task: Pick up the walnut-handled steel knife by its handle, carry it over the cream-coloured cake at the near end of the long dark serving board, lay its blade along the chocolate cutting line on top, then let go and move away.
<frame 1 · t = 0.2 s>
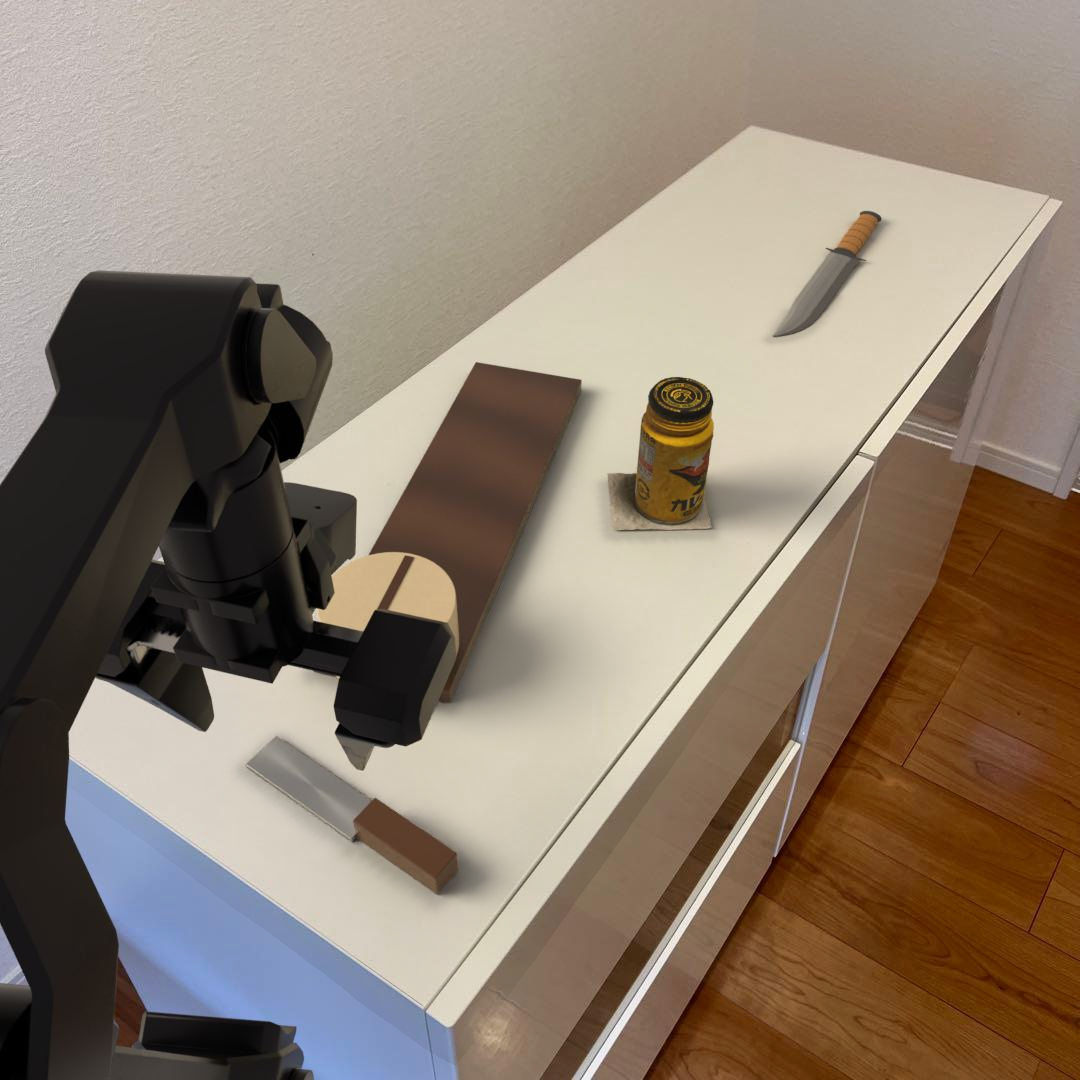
hand: (284, 743, 58), 16 cm above the sideboard, tool pointing down, fingers open, 9 cm apart
cake knife: (361, 822, 72), on the sideboard
cake: (393, 644, 82), resting on serving board
condiment: (657, 503, 96), on the sideboard
knife: (831, 277, 123), on the sideboard
serving board: (465, 512, 94), on the sideboard
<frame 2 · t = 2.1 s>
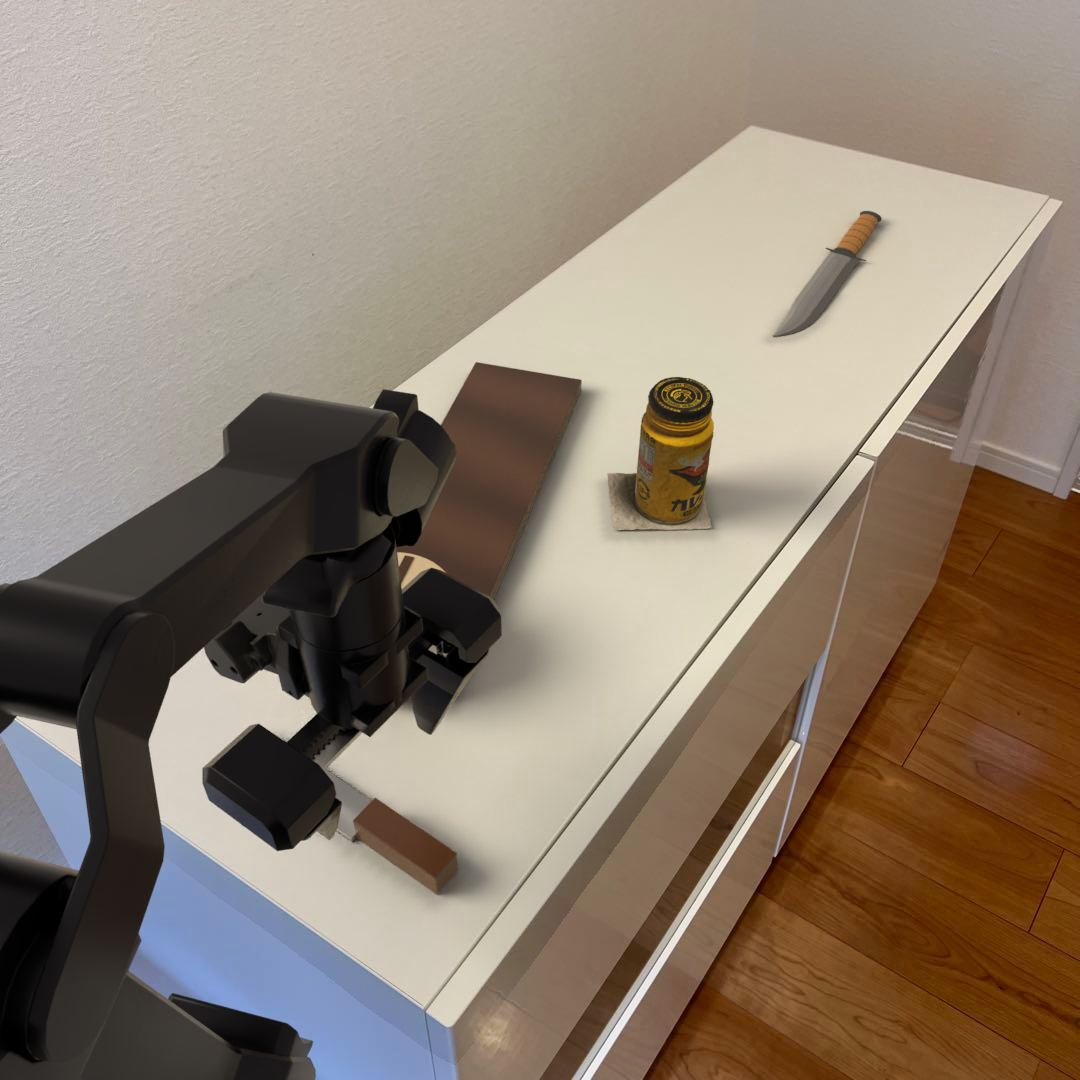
hand: (377, 779, 66), 7 cm above the sideboard, tool pointing down, fingers open, 9 cm apart
nothing on the sideboard moved.
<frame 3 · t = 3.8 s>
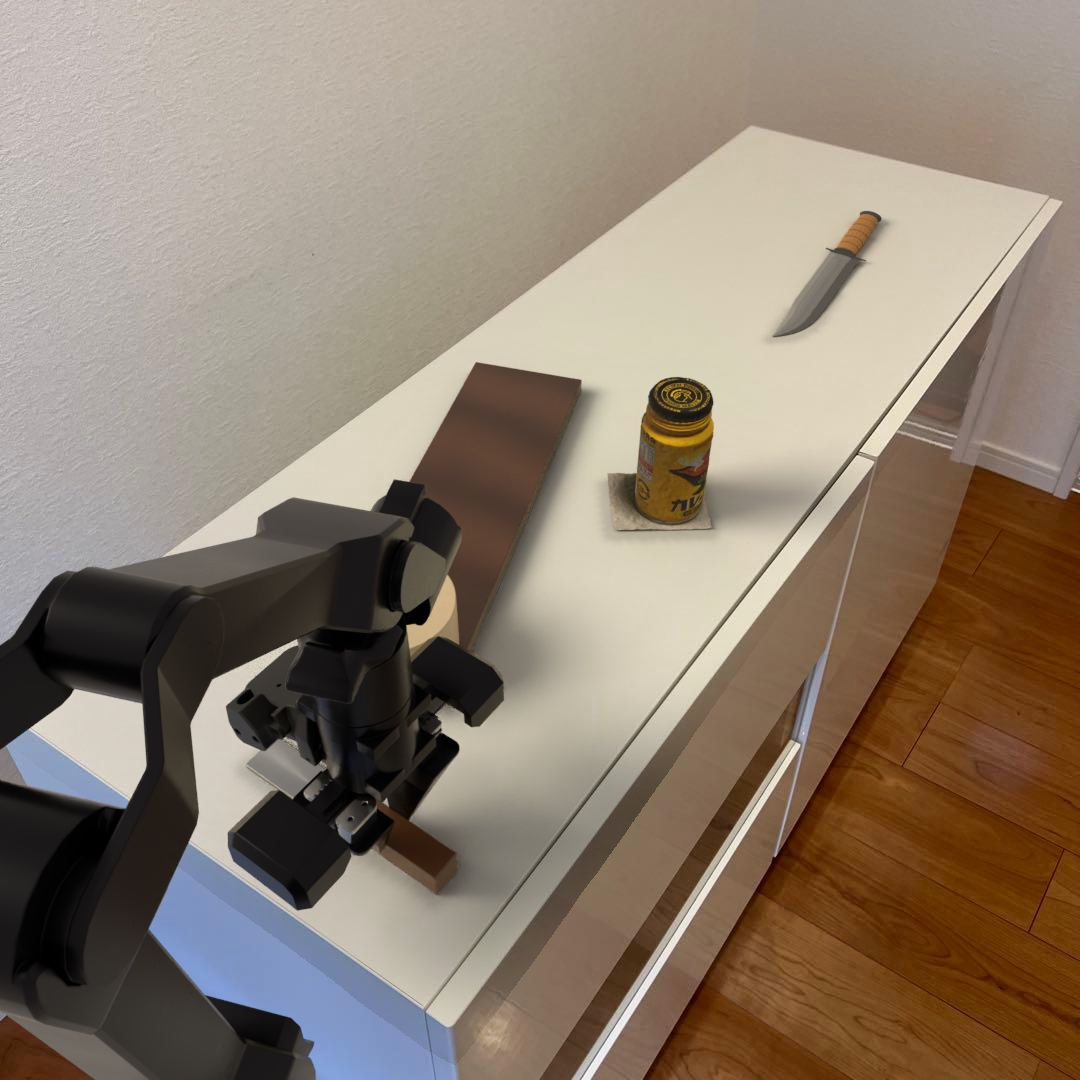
hand: (388, 833, 71), 1 cm above the sideboard, tool pointing down, fingers closed on cake knife, 2 cm apart
cake knife: (361, 822, 72), on the sideboard, touching gripper
everything else where it was.
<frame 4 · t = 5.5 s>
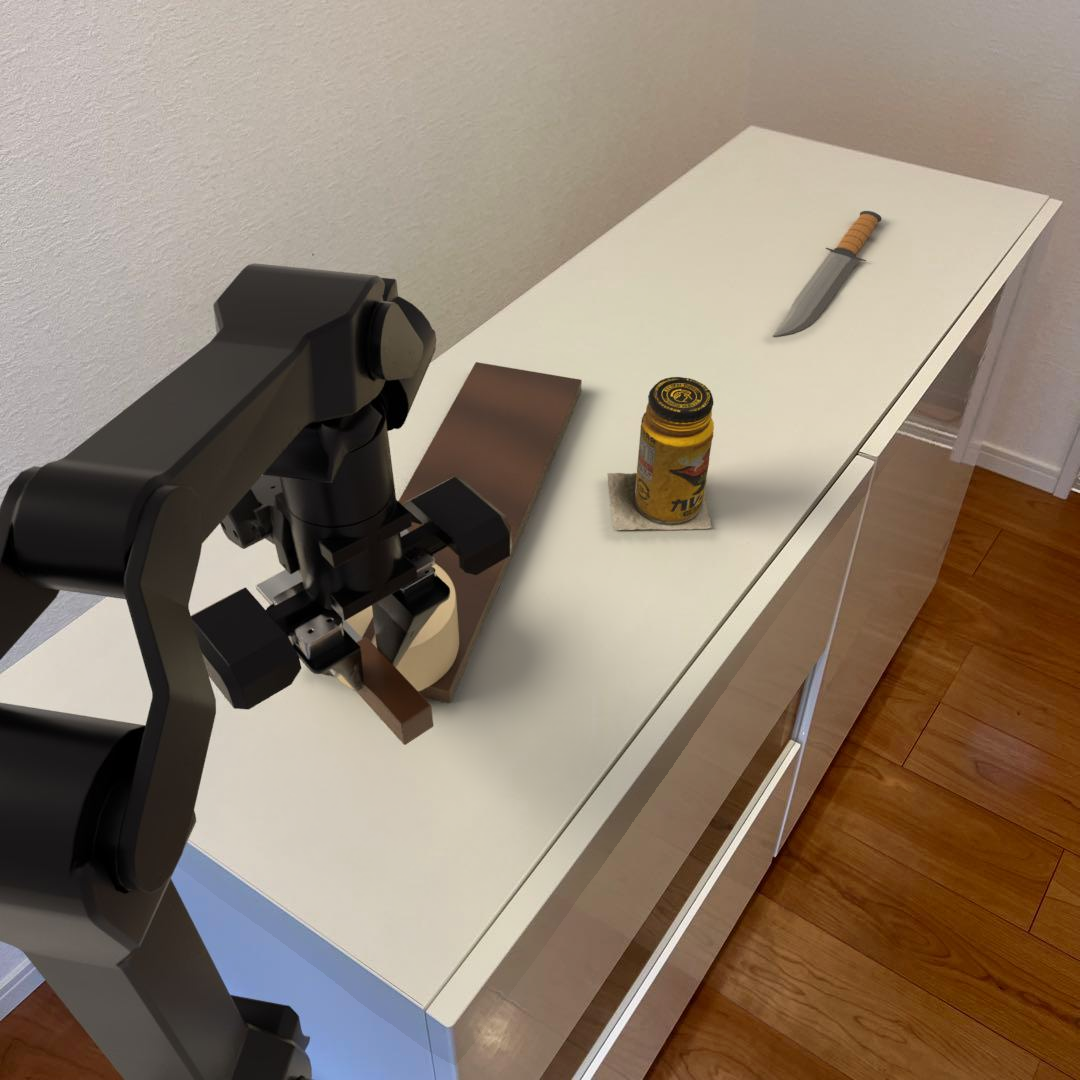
hand: (371, 675, 67), 11 cm above the sideboard, tool pointing down, fingers closed on cake knife, 2 cm apart
cake knife: (351, 661, 69), point 10 cm above the sideboard, touching gripper
everything else where it was.
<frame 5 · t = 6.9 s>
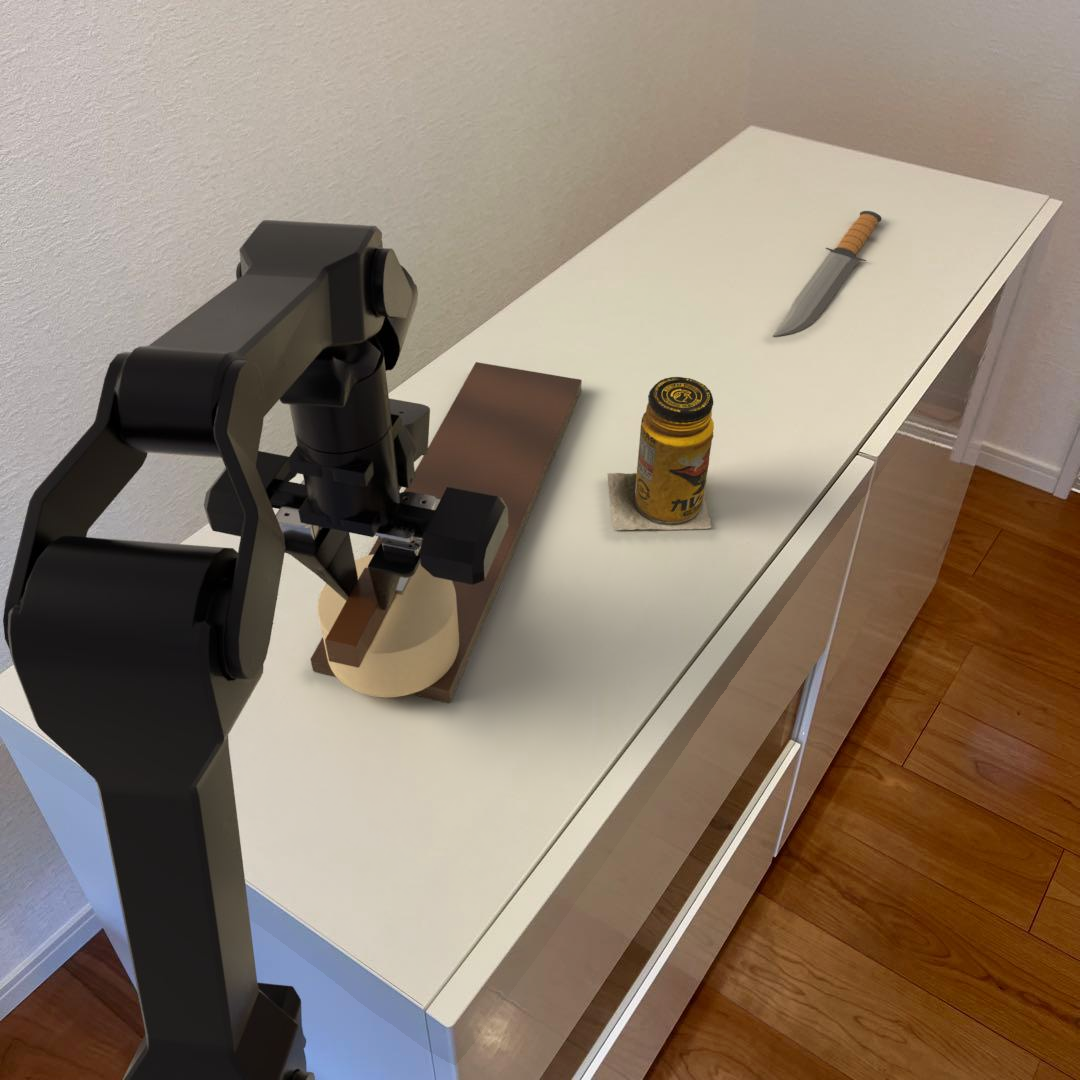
hand: (370, 602, 75), 9 cm above the sideboard, tool pointing down, fingers closed on cake knife, 2 cm apart
cake knife: (385, 586, 77), point 8 cm above the sideboard, touching gripper
everything else where it was.
when the fingers open (8 cm above the sideboard, at t = 7.5 s): cake knife stays where it is, resting on cake.
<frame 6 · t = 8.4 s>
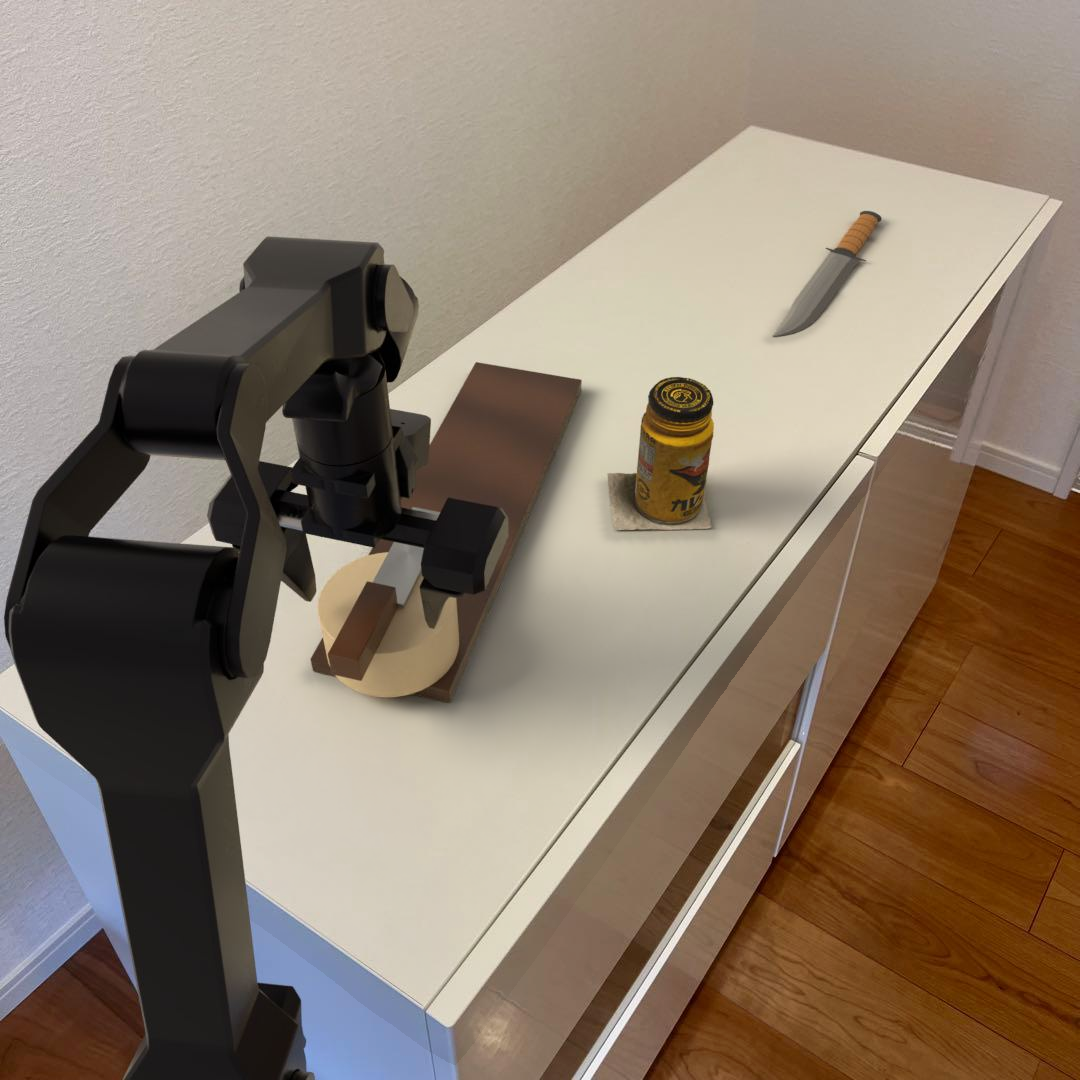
hand: (372, 610, 75), 8 cm above the sideboard, tool pointing down, fingers open, 9 cm apart
cake knife: (386, 599, 78), point 7 cm above the sideboard, touching cake
everything else where it was.
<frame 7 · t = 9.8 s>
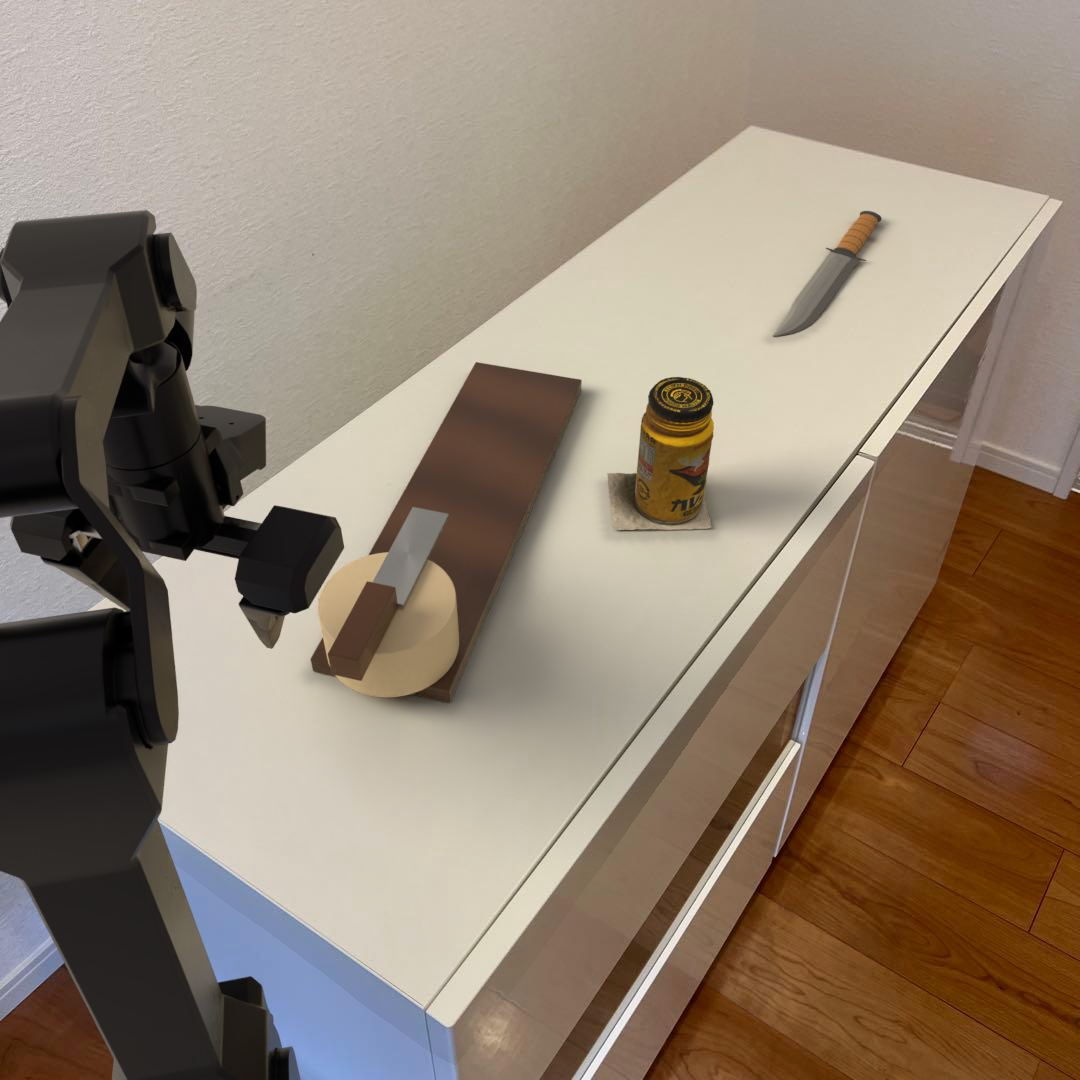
hand: (207, 627, 69), 12 cm above the sideboard, tool pointing down, fingers open, 9 cm apart
nothing on the sideboard moved.
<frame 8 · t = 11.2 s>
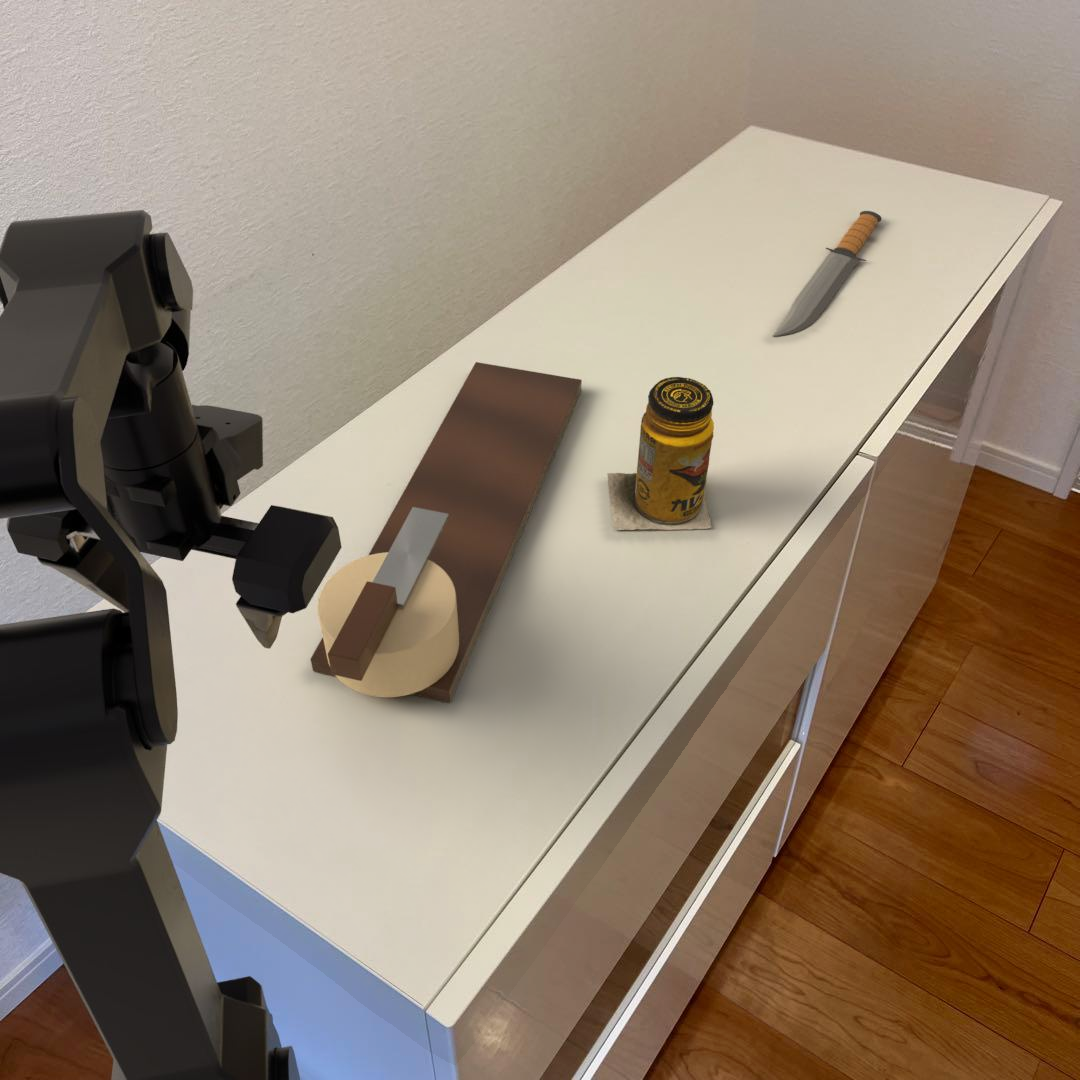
hand: (204, 627, 69), 12 cm above the sideboard, tool pointing down, fingers open, 9 cm apart
nothing on the sideboard moved.
at the end: cake knife 1.0 cm from the target spot on the cake, point 5.1 cm above the cake's base; cake knife touching cake; cake knife inside the target area on the serving board (0.5 cm from its centre), point 6.6 cm above the serving board's base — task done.
